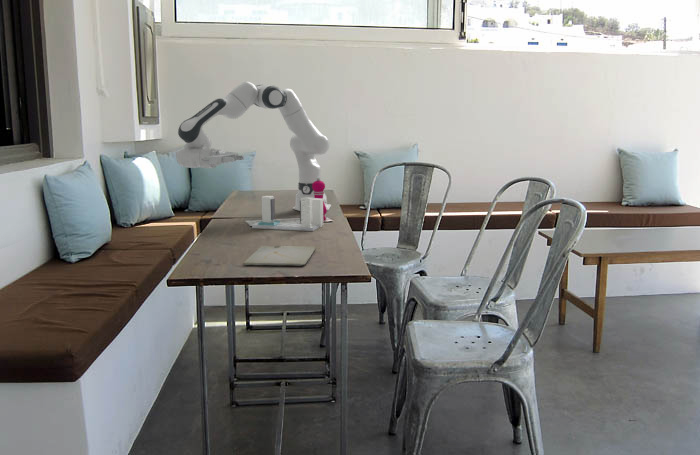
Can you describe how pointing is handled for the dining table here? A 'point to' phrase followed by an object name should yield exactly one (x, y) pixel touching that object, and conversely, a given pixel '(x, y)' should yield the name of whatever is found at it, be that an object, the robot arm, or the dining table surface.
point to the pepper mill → (319, 193)
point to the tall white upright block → (268, 209)
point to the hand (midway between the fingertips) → (238, 158)
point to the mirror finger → (318, 211)
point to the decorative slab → (280, 255)
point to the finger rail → (305, 224)
